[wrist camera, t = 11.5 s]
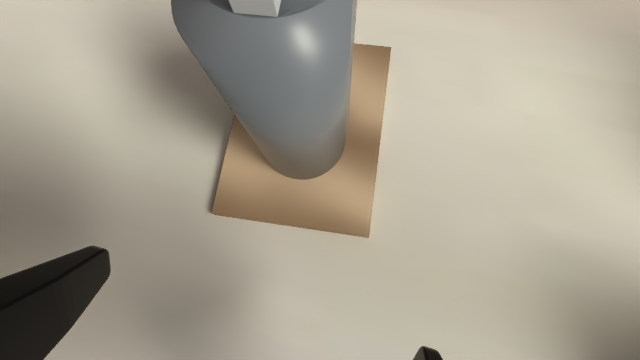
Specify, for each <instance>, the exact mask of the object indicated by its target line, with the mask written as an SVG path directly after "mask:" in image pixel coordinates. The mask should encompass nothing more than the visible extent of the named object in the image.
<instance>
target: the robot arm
mask: <svg viewBox="0 0 640 360" xmlns="http://www.w3.org/2000/svg"><path fill="white" fill-rule="evenodd" d="M110 271H111V269H110V259H109V252H108V251H107V250H106V249H104V248H101V247H97V246H89V247H86V248H84V249H81V250H78V251H75V252H73V253H70V254H67V255H64V256H61V257H59V258H56V259H53V260H50V261H48V262H45V263H42V264H39V265H37V266H34V267H31V268H28V269H26V270H23V271H20V272H17V273H15V274H12V275H9V276H6V277H3V278H1V279H0V360H43V359H44V358H45V357H46V356H47V355H48V354H49V353H50V351H51V350H52V349H53V348H54V347H55V346H56V345H57V344H58V342H59V341H60V340H61V339H62V338H63V337H64V336H65V334H66V333H67V332H68V331H69V330H70V329H71V327H72V326H73V325H74V324H75V322H76V321H77V320H78V318H79V317H80V316H81V314H82V313H83V312H84V310H85V309H86V308H87V306H88V305H89V303H90V302H91V301H92V299H93V298H94V297H95V295H96V294H97V293H98V291H99V290H100V289H101V287H102V286H103V284H104V283H105V282H106V280H107V279H108V277H109V275H110ZM413 360H443V359H442V357H441V356H440V354H439V352H438V351H437V350H435V349H432V348H428V347H425V346H422V347H420V349H419V350H418V352H417V354H416V355H415V357H414V359H413Z"/></svg>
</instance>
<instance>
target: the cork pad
mask: <svg viewBox="0 0 640 360" xmlns="http://www.w3.org/2000/svg"><path fill="white" fill-rule="evenodd" d="M390 52H391V47H384V46H373V45H363V44H354V49H353V63H352V78H351V92H350V107H349V120H348V127H347V134H346V141H345V147H344V151H343V153H342V156H341V158H340V159H339V161H338V162H337V164H336V165H335V166H334V167H333V168H332V169H331V170H329V171H328V172H326V173H325V174H323V175H321V176H319V177H316V178H312V179H305V180H299V179H292V178H289V177H286V176H284V175H282V174H280V173H279V172H277V171H276V170H275V169H274V168H273V167H272V166H271V165H270V164H269V163H268V161H267V160H266V158H265V157H264V155H263V154H262V153H261V151H260V150H259V148H258V147H257V145H256V144H255V142H254V141H253V140H252V138H251V137H250V135H249V134H248V132H247V131H246V129H245V128H244V127H243V125H242V124H241V122H240V121H239V119H238V118H237V116H236V115H234V119H233V123H232V128H231V132H230V136H229V140H228V145H227V149H226V153H225V157H224V162H223V166H222V170H221V175H220V179H219V183H218V187H217V192H216V196H215V200H214V204H213V209H212V214H215V215H220V216H227V217H233V218H240V219H247V220H253V221H260V222H267V223H274V224H280V225H287V226H294V227H300V228H307V229H314V230H320V231H327V232H334V233H340V234H347V235H354V236H360V237H367V238H368V237H369V232H370V224H371V215H372V206H373V198H374V189H375V181H376V172H377V163H378V155H379V146H380V138H381V129H382V120H383V112H384V103H385V95H386V86H387V78H388V69H389V60H390Z"/></svg>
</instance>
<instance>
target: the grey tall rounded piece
mask: <svg viewBox="0 0 640 360" xmlns="http://www.w3.org/2000/svg"><path fill="white" fill-rule="evenodd" d="M356 5H357V0H171V7H172V15H173V19H174V23H175V25H176V27H177V30H178V32H179V34H180V35H181V37H182V38H183V40H184V41H185V43H186V44H187V46H188V47H189V49H190V50H191V52H192V53H193V54H194V56H195V57H196V59H197V60H198V62H199V63H200V65H201V66H202V67H203V69H204V70H205V72H206V73H207V75H208V76H209V77H210V79H211V80H212V82H213V83H214V85H215V86H216V88H217V89H218V90H219V92H220V93H221V95H222V96H223V98H224V99H225V101H226V102H227V103H228V105H229V106H230V108H231V109H232V111H233V112H234V114H235V115H236V116H237V118H238V119H239V121H240V122H241V124H242V125H243V127H244V128H245V129H246V131H247V132H248V134H249V135H250V137H251V138H252V140H253V141H254V142H255V144H256V145H257V147H258V148H259V150H260V151H261V153H262V154H263V155H264V157H265V158H266V160H267V161H268V163H269V164H270V165H271V166H272V167H273V168H274V169H275V170H276V171H277V172H279V173H280V174H282V175H284V176H286V177H289V178H292V179H299V180H305V179H312V178H316V177H319V176H321V175H323V174H325V173H326V172H328V171H329V170H331V169H332V168H333V167H334V166H335V165H336V164H337V162H338V161H339V159H340V158H341V156H342V153H343V151H344V147H345V141H346V134H347V127H348V120H349V107H350V92H351V78H352V63H353V49H354V34H355V20H356Z"/></svg>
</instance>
